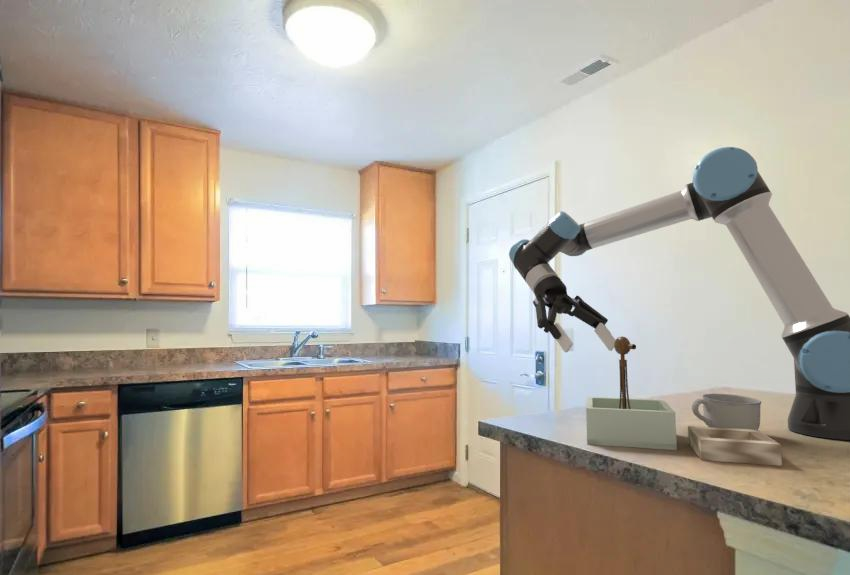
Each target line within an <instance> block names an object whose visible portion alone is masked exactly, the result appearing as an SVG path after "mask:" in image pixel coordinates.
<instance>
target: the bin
mask: <svg viewBox="0 0 850 575" xmlns="http://www.w3.org/2000/svg"><path fill="white" fill-rule="evenodd" d="M619 403H620V397H599V396H597V397H596V396H594V397H593V396H587V397H586V406H585V407H586V408H585V411H586V412H585V413H586V444H587V445H594V446H595V445H597V446H612V447H625V448H636V449H638V448H639V449H651V450H653V449H654V450H667V451H677V450H678V449H677V448H678V446H677V425H676V411H675V410H674V409H673V408H672V407H671V406H670V405H669V404H668V402H666V401H665V400H664V399H648V398H647V399H646V398H629V403H630V409H629V407H628V401H627V397H626V406H627V409H623V407H622V400H621V409H619Z"/></svg>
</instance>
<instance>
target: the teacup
mask: <svg viewBox="0 0 850 575" xmlns="http://www.w3.org/2000/svg"><path fill="white" fill-rule="evenodd" d="M701 404H702V405H703V406H702V407H703V409H702V410H703V411H702V412H703V415H702V414H701V413H700V411H699V406H701ZM761 404H762V401H761V400H759V399H758V398H755V397H750V396H747V395H746V396H744V395H739V394H738V395H737V394H729V393H705V394H702V398H697V399H695V400H694V401H693V402H692V405H691V411H692V413H693V414H694V416H695V417H697V418H698V419H699V420H700V421H702V422H704V424H705V425H706V427H714V428H732V429H750V430H759V429H760V424H761Z"/></svg>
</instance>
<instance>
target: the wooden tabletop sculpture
mask: <svg viewBox="0 0 850 575" xmlns="http://www.w3.org/2000/svg"><path fill="white" fill-rule="evenodd" d="M629 340H630V339H628V337H626V336H619V337H617V338H615V342H614V348H613V349H614V350H615V352H616V353H617V354H618V355H620V359H618V364H619V398H620V403H619V409H621V400H622V407H623V409H627V406H626V398H627V401H628V407H629V409H630V403H629V399H630V397H629V396H630V394H629V382H628V359H625V358H626V357H625V356H626V355H628V354H629V353H630V351H631V350H636V349H637V345H636V344H635V343H631V342H630V341H629Z"/></svg>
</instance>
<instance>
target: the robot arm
mask: <svg viewBox="0 0 850 575" xmlns="http://www.w3.org/2000/svg"><path fill="white" fill-rule="evenodd" d="M772 196H773V193H772V191H771V190H770V188H769V187H768V185H767V183H766V181H765V180H764V178H763V177H762V176H761V174H760V172H759V169H758V165H757V162H756V159H755V158H754V157H753V156H752V155H751V154H750V153H749V152H748V151H747V150H745V149H742V148H740V147H734V146H725V147H720V148H716V149H714V150H711V151H710V152H708V153H706V154H705V155H704V156H703V157H702V158H700V160H699V161H698V162H697V164H696V165H695V168H694V170H693V175H692V182H690V183H688V184H687V183H686V184H685V185H684V187H683V188H682V190H679V191H676V192H673V193H669V194H667V195H664V196H661V197H658V198H655V199H651V200H649V201H646V202H643V203H640V204H637V205H634V206H631V207H628V208H624V209H621V210H619V211H616V212H614V213H613V212H612V213H611V214H610V213H609V214H606V215H605V216H601V217H598V218H595V219H592V220H588V221H586V222H584V223H581V224H579V223H577V221H576V220H575V219H574V218H572V216H570V214H568V213H566V212H565V211H563V210H562V211H559V212H557V214H555V215H554V216H552V218H550V219H549V221H548V222H547V223H546V224H545V225H544V226H543V227H542V228H541V229H540V230H539V231H538V232H537V234H535V235H534V236H533V237H532V238H531V239H530V240H529V239H526V238H525V239H520V240H519V241H518V242H514V244H512V246H511V247H510V249H509V253H508V256H509V259H510V261H511V263H512V265H513V267H514V269H515V270H517V272H518V273H519V275H520V276H521V277H522V278H523V280H524V282H525V283H526V284H527V285H528V287H529V288H530V290H531V291H532V293H533V294H534V296H535V298H534V299H533V301H532V304H533V305H534V308H535V315H536V321H537V322H536V324H537V327H538V329H541V330H542V329H543V328H544V329H543V332H544V333H547V334H548V333H550V334H551V336H552V337H553V339H554V340H556V342H557V343H558V345H559V346H560V348H561V349H562V351H564V353H568V352H569V351H570V350H571V348H572V347H573V345H574V343H573V341H572V339H571V338H570V337H569V335H568V334H567V333H566V331H565V330H564V328H563V327H562V326H561V324H560V323H559V322H556V319H557V314H558V315H562V314H564V315H568V316H570V317H575V318H577V319H579V320H580V321H582V322H583V323H585V324H587V325H588V326H590V327H591V328H593V329H594V333H595V334H596V336H598V338H599V339H600V340H601V342H602V343H603V344H604V346H605V347H606V348H607V350H608V351H611V352H612V351H613V350H614V349H615V348H614V342H615V340H616V338H615V337H614V336H613V334H612V333H611V332H610V329H608V328H607V326H606V324H607V322H608V321H609V320H608V319H607V317H605V316H604V315H602V313H600V311H599V312H598V311H597V309H594V308H593V307H592V306H591V305H589V304H588V303H587V302H586V301H584V299H582V297H581V296H579V295H576V296H575V297H573V298H572V297H571V296H569V295H568V292H567V290H568V289H567V286H566V285H565V283H564V282H563V281H562V279H561V278H560V277H559V276H558V274H557V273H556V271H555V270H554V268H553V267H552V266H551V265H550V264H549V262H550V261H552V259H553V258H555V257H556V256H557V255H558V254H559V253H561V254H564V255H566V256H568V257H579V256H582V255H584V254H585V253H586V252H587V251H589V250H593V249H597V248H599V247H603V246H605V245H609V244H612V243H615V242H619V241H623V240H625V239H628V238H633V237H636V236H640V235H642V234H645V233H649V232H652V231H655V230H659V229H662V228H665V227H669V226H672V225H676V224H680V223H682V222H686V221H689V220H693V221H695V222H700V221H703V220H706V219H710V218H712V220H713V221H714V223H716V224H721V225H725V226H726V228H727V229H728V232H729V233H730V235H731V236H732V238H733V240H734V242H735V244H736V245H737V247H738V248H739V249H740V252H741V253H742V255H743V257H744V259H745V260H746V262H747V263H748V266H749V267H750V268H751V271H752V272H753V273H754V275H755V277H756V279H757V280H758V283H759V284H760V286H761V287H762V289H763V291H764V293H765V294H766V296H767V297H768V299H769V301H770V303H771V304H772V306H773V308H774V310H775V311H776V313H777V315H778V317H779V318H780V320H781V321H782V323H783V325H784V328H783V331H782V333H781V335H780V337H781V339H782V340H783V341H784V343H785V346H787V349H788V351H789V353H790V354H791V356H792V358H793V365H794V366H793V368H794V384H795V385H794V386H795V395H794V399H793V401H792V405H791V406H790V407H791V408H790V410H789V413H788V417H787V429H788V430H789V431H791V432H794V433H798V434H801V435H805V436H811V437H817V438H818V437H819V438H824V439H833V440H841V441H842V440H843V441H850V315H849V314H848V312H846V311H842V310H839V309H836V308H834V307H833V305H832V304H831V302H830V301H829V299H828V298H827V296H826V294H825V293H824V292H823V290H822V287H820V284H819V283H818V281H817V280H816V278H815V277H814V275H813V273H812V272H811V270H810V269H809V267H808V266H807V264H806V262H805V261H804V259H803V258H802V256H801V254H800V252H799V251H798V249H797V248H796V246H795V245H794V243H793V241H792V240H791V238H790V236H789V235H788V234H787V232H786V231H785V229H784V227H783V226H782V224H781V222H780V220H779V219H778V217H777V215H775V213H774V211H773V210H772V208H771V206H770V202H771V198H772ZM546 308H548V311H547V309H546Z"/></svg>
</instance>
